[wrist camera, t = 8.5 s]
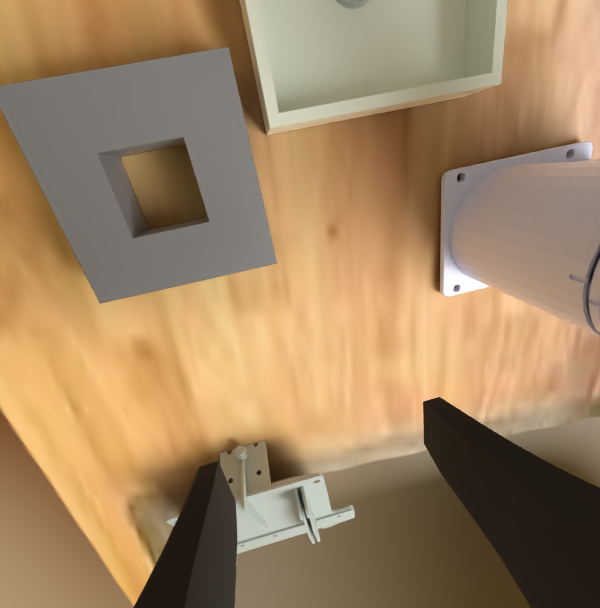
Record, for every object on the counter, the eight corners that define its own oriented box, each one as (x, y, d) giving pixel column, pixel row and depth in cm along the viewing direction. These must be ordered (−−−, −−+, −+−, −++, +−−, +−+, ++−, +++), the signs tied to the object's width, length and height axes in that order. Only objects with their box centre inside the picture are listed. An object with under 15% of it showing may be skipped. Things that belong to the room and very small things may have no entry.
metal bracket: (121, 561, 18) (359, 491, 19) (140, 463, 22) (332, 409, 23) (204, 590, 27) (360, 541, 28) (206, 516, 32) (341, 476, 33)
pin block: (231, 67, 14) (228, 46, 12) (273, 252, 18) (277, 263, 16) (32, 102, 13) (-11, 87, 11) (119, 286, 17) (100, 303, 15)
